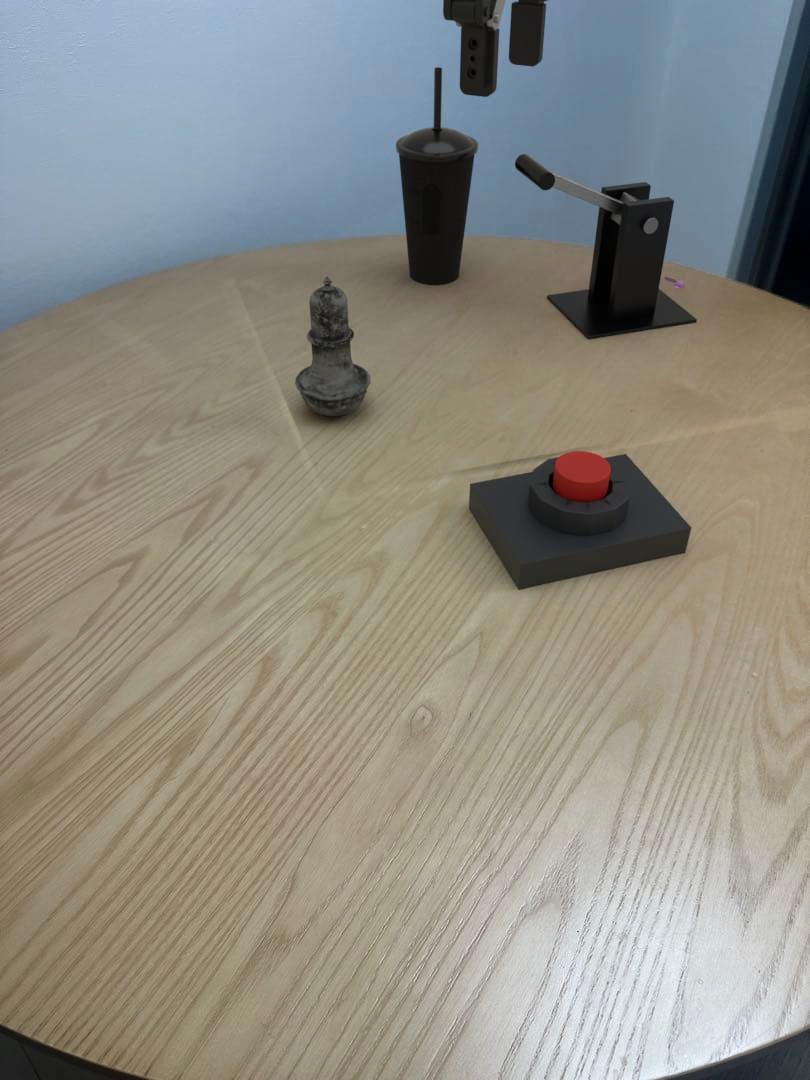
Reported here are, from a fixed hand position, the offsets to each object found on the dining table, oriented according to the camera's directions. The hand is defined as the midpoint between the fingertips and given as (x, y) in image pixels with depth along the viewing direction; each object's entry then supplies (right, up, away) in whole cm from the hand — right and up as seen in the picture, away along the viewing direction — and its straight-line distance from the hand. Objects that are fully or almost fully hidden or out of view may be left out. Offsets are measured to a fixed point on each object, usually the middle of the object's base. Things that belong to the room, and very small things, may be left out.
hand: (502, 78), depth 62 cm
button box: (+5, -30, +3) cm, 30 cm away
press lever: (+9, -2, +19) cm, 21 cm away
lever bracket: (+14, -9, +27) cm, 32 cm away
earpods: (+20, -6, +32) cm, 39 cm away
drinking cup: (-3, -4, +34) cm, 34 cm away
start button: (+5, -27, 0) cm, 27 cm away
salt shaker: (-12, -21, +14) cm, 28 cm away
